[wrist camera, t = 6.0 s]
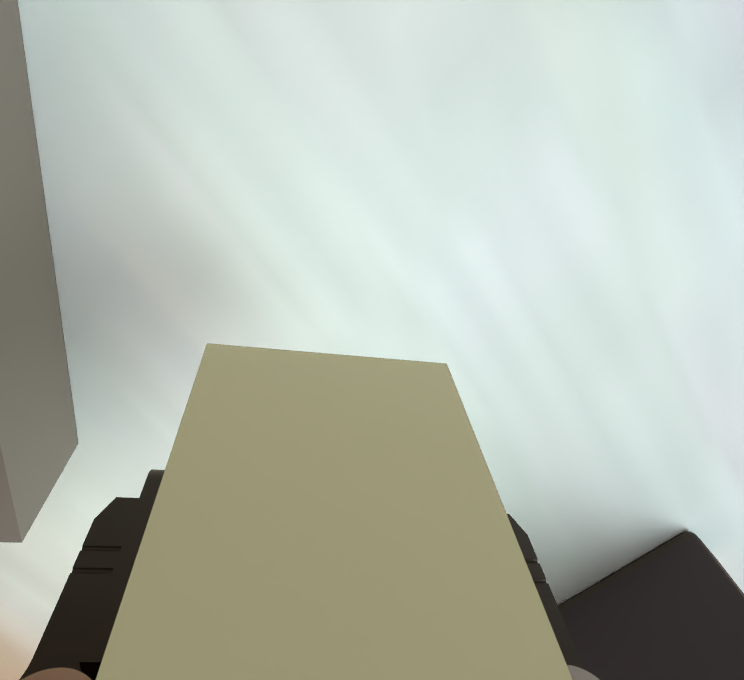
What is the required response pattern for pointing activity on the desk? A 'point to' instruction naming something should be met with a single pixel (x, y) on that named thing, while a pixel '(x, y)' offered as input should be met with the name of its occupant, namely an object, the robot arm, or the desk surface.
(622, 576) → the dark rectangular box
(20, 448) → the base slab
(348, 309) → the desk surface
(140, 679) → the block
